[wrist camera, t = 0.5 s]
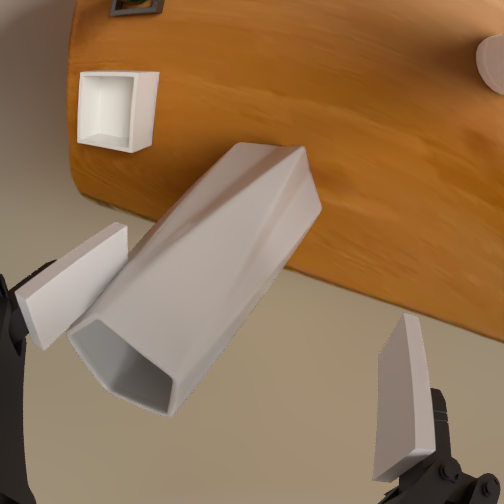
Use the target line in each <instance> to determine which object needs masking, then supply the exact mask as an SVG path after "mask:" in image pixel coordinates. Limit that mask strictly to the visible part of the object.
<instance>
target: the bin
mask: <svg viewBox="0 0 504 504" xmlns="http://www.w3.org/2000/svg"><path fill="white" fill-rule="evenodd" d="M159 73H160V72H154V71H133V70H97V71H87V72H80V83H79V99H78V129H77V143H83V144H88V145H94V146H99V147H104V148H109V149H114V150H119V151H124V152H129V153H133V152H136V151H138V150H141V149H143V148H146V147H148V146H151V145H152V137H153V126H154V115H155V106H156V97H157V89H158V81H159Z"/></svg>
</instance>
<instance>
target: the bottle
mask: <svg viewBox="0 0 504 504" xmlns="http://www.w3.org/2000/svg"><path fill="white" fill-rule="evenodd" d="M476 64H477V68H478V71H479V74H480V75H481V77H482V79H483V80H484V82H485V83H486V84H487V85H488V86H489V87H490V88H491V89H492V90H493V91H495V92H497V93H499V94H501V95H504V34H497V35H494V36H490V37H488V38H486V39H484V40H483V41H482V42H481V43H480V44H479V45H478V48H477V51H476Z"/></svg>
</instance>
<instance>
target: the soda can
mask: <svg viewBox="0 0 504 504" xmlns="http://www.w3.org/2000/svg"><path fill="white" fill-rule="evenodd" d="M120 1H125V2H130V3H134V4H138V3H141V2H144V1H145V0H120Z"/></svg>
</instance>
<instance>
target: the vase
mask: <svg viewBox="0 0 504 504" xmlns="http://www.w3.org/2000/svg"><path fill="white" fill-rule="evenodd" d="M321 210H322V206H321V202H320V199H319V196H318V193H317V190H316V187H315V184H314V181H313V178H312V175H311V172H310V168H309V163H308V159H307V153H306V148H305V147H304V146H303V145H293V146H276V145H266V144H257V143H248V142H239V143H236V144H235V145H234V146H233V147H231V148H230V149H229V150H228V151H227V152H226V153H225V154H224V155H223V156H222V157H221V158H220V159H219V160H218V161H217V162H216V163H214V164H213V165H212V166H211V167H210V168H209V169H208V170H207V171H206V172H205V173H204V174H203V175H202V176H201V177H200V178H199V179H198V180H197V181H196V182H195V183H194V184H193V185H192V186H191V187H190V188H189V189H188V190H187V191H186V192H185V193H184V194H183V195H182V196H181V197H180V198H179V199H178V200H177V201H176V202H175V203H174V204H173V206H172V207H171V208H170V209H169V210H168V211H167V212H166V213H165V214H164V215H163V216H162V217H161V218H160V219H159V220H158V221H157V222H156V224H155V225H154V226H153V227H152V228H151V229H150V230H149V231H148V232H147V233H146V234H145V236H144V237H143V238H142V239H141V240H140V241H139V242H138V243H137V244H136V246H135V247H134V248H133V249H132V250H131V251H130V252H129V254H128V262H127V263H126V264H125V265H124V267H123V268H122V269H121V270H120V271H119V273H118V274H117V275H116V276H115V277H114V279H113V280H112V281H111V282H110V283H109V285H108V286H107V287H106V288H105V289H104V291H103V292H102V293H101V294H100V296H99V297H98V298H97V299H96V301H95V302H94V303H93V305H91V306H90V307H89V308H88V309H87V310H86V311H85V312H84V313H83V314H82V315H81V316H80V317H79V318H78V319H76V320H75V321H74V322H73V323H72V324H71V325H70V327H69V329H68V330H67V331H66V336H67V338H68V340H69V342H70V343H71V345H72V347H73V348H74V350H75V351H76V353H77V354H78V356H79V357H80V358H81V360H82V361H83V363H84V364H85V365H86V367H87V368H88V369H89V371H90V372H91V373H92V375H93V376H94V377H95V378H96V379H97V381H98V382H99V383H100V384H101V385H102V386H103V388H104V389H105V390H106V391H108V392H109V393H111V394H112V395H115V396H116V397H118V398H120V399H122V400H124V401H127V402H129V403H131V404H133V405H135V406H138V407H140V408H143V409H145V410H148V411H150V412H153V413H156V414H158V415H161V416H165V417H172V416H173V415H174V414H175V413H176V412H177V411H178V409H179V408H180V407H181V406H182V404H183V403H184V402H185V401H186V400H187V398H188V397H189V396H190V394H191V393H192V392H193V391H194V389H195V388H196V387H197V385H198V384H199V383H200V381H201V380H202V379H203V378H204V376H205V375H206V374H207V372H208V371H209V370H210V368H211V367H212V366H213V364H214V363H215V362H216V360H217V359H218V358H219V356H220V355H221V354H222V352H223V351H224V350H225V348H226V347H227V346H228V344H229V343H230V341H231V340H232V339H233V337H234V336H235V334H236V333H237V332H238V330H239V329H240V328H241V326H242V325H243V323H244V322H245V321H246V319H247V318H248V316H249V315H250V314H251V313H252V311H253V310H254V308H255V307H256V305H257V304H258V303H259V301H260V300H261V299H262V297H263V296H264V294H265V293H266V291H267V290H268V289H269V287H270V286H271V284H272V283H273V282H274V280H275V279H276V277H277V276H278V274H279V273H280V271H281V270H282V269H283V267H284V266H285V264H286V263H287V261H288V260H289V259H290V257H291V256H292V254H293V253H294V251H295V250H296V248H297V247H298V245H299V244H300V242H301V241H302V240H303V238H304V237H305V235H306V234H307V232H308V231H309V229H310V228H311V226H312V225H313V223H314V222H315V220H316V219H317V217H318V216H319V214H320V212H321Z"/></svg>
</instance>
